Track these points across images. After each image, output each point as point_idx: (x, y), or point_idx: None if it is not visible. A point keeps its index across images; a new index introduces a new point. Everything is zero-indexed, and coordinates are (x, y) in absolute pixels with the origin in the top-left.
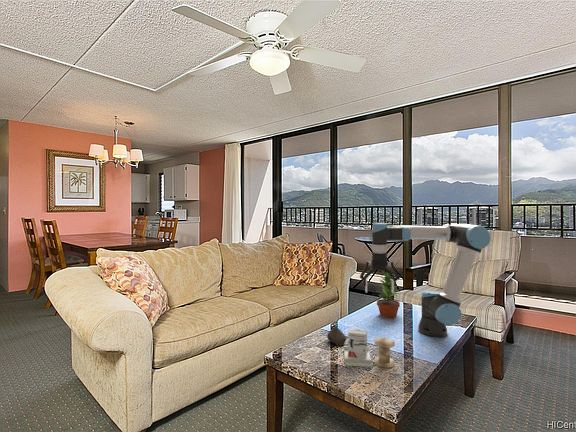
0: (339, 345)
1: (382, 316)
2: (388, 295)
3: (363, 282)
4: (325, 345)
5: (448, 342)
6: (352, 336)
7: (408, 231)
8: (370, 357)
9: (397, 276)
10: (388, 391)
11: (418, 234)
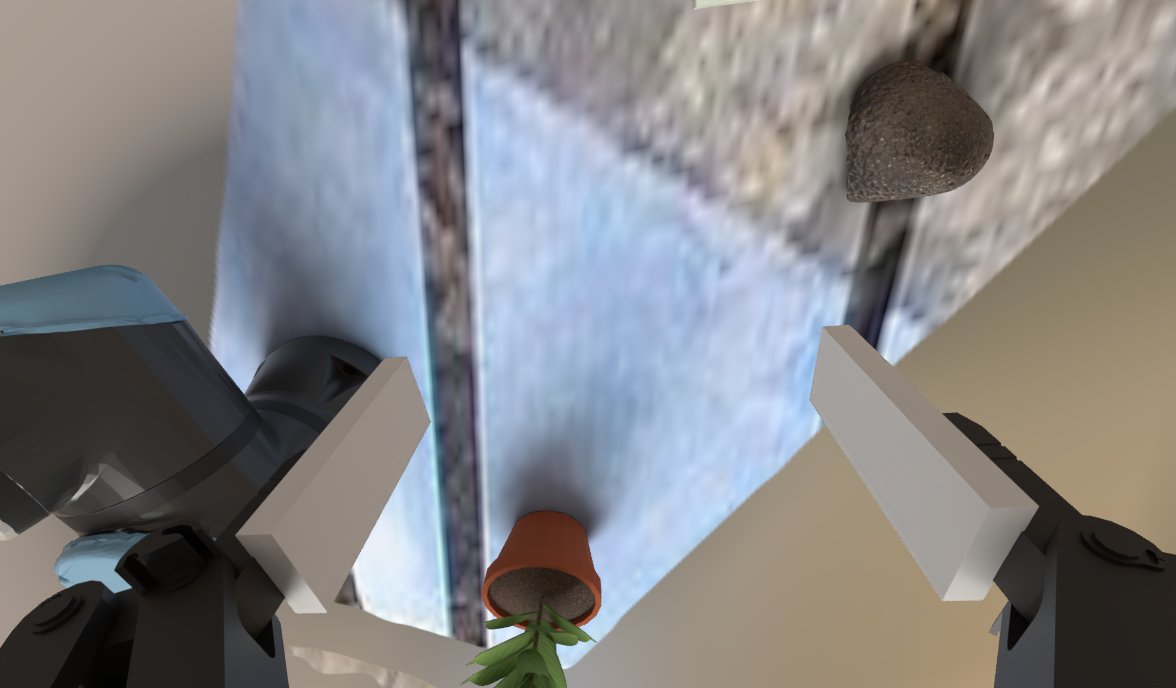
0: (892, 64)
1: (576, 521)
2: (534, 640)
3: (1029, 469)
4: (992, 57)
5: (244, 280)
6: None
7: None
8: None
9: (17, 679)
10: None
11: None
